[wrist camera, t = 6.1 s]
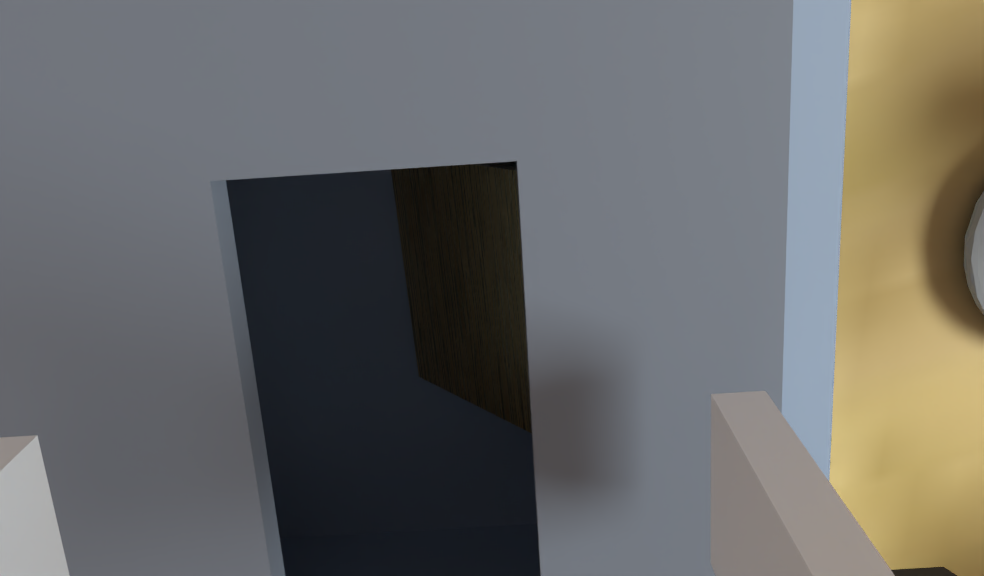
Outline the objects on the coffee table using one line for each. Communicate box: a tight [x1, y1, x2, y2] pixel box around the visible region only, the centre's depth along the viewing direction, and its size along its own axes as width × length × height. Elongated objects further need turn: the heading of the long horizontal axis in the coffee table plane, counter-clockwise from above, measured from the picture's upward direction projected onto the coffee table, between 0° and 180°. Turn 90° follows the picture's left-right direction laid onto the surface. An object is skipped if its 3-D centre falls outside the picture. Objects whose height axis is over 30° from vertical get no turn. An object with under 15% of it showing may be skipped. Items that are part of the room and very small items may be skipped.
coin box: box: [0, 0, 851, 576], centre depth 21 cm, size 18×14×12 cm
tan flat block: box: [391, 161, 532, 433], centre depth 22 cm, size 6×2×7 cm
